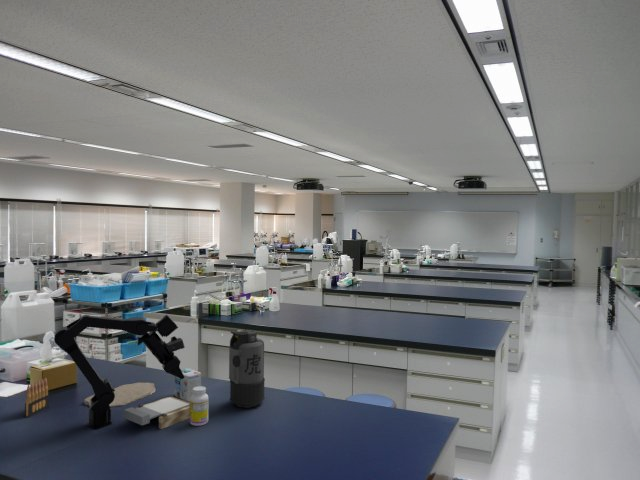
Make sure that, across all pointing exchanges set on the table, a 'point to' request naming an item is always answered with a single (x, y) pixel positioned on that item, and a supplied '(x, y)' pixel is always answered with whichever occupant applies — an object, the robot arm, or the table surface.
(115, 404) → the stone tablet
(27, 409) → the ammunition clip
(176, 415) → the tan framed slab
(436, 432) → the table surface
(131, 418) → the trapdoor
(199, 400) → the supplement bottle
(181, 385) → the light bulb box
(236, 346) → the kanji thermos flask
